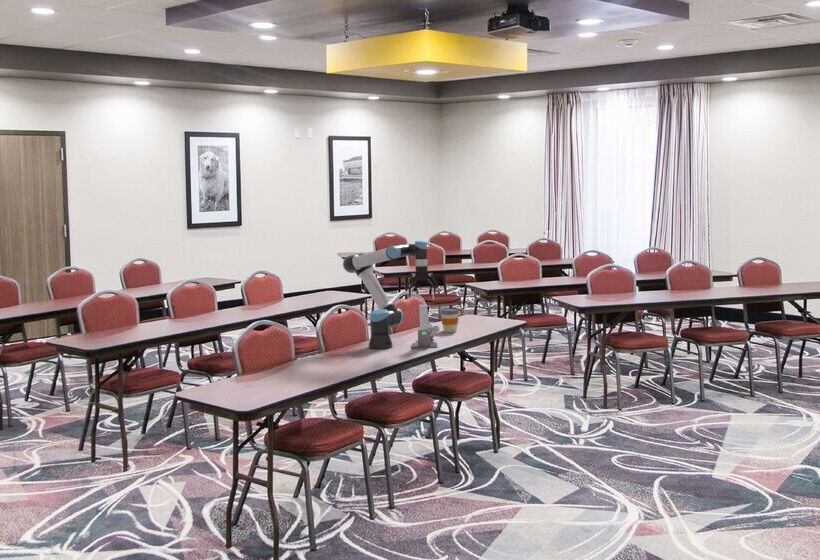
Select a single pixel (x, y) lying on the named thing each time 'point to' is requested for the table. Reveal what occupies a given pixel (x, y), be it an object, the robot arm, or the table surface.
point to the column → (423, 318)
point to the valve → (433, 330)
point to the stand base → (424, 340)
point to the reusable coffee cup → (449, 319)
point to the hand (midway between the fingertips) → (422, 299)
